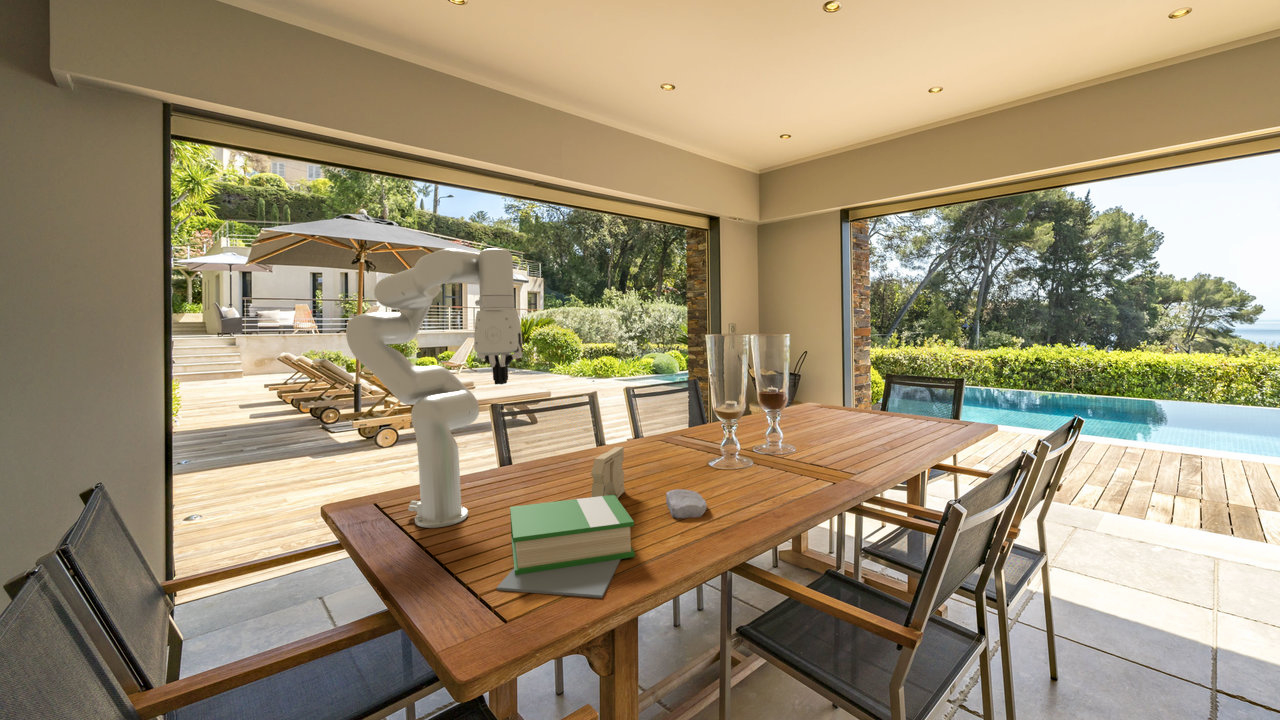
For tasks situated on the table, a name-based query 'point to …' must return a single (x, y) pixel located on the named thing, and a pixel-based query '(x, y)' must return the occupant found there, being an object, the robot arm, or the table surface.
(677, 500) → the stone block
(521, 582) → the mat
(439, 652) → the table surface
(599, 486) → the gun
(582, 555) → the hardback book
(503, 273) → the robot arm
